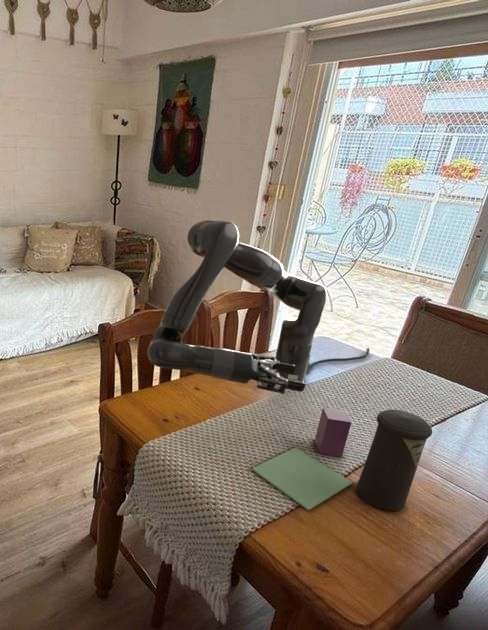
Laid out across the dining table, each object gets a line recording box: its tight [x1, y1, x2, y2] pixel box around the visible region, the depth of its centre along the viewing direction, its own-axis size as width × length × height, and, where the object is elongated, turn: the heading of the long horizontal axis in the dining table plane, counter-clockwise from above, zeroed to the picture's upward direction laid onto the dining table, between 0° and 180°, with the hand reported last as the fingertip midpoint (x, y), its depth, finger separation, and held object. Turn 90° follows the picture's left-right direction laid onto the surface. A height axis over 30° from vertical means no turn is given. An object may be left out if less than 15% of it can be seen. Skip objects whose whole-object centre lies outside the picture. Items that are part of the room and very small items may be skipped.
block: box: [314, 407, 352, 458], centre depth 107 cm, size 5×5×10 cm
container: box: [356, 409, 433, 512], centre depth 90 cm, size 9×9×20 cm
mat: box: [251, 447, 353, 511], centre depth 99 cm, size 16×14×1 cm
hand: (299, 377), depth 105 cm, fingers open, 8 cm apart
